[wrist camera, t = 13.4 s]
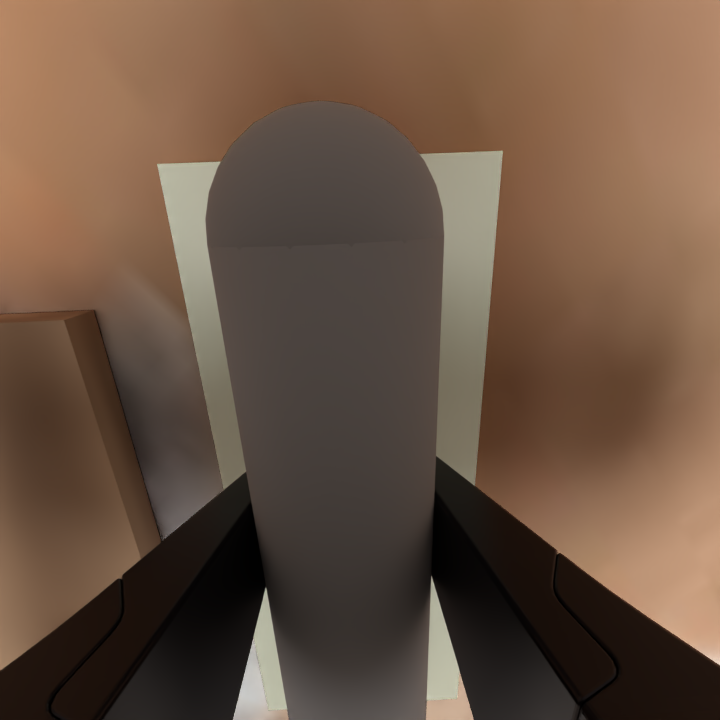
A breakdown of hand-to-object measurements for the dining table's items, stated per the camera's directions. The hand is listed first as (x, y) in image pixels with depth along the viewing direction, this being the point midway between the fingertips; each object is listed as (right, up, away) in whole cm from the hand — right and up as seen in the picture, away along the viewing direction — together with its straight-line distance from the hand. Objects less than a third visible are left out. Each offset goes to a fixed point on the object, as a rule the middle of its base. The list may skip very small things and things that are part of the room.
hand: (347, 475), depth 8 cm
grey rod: (0, -3, 0) cm, 3 cm away
